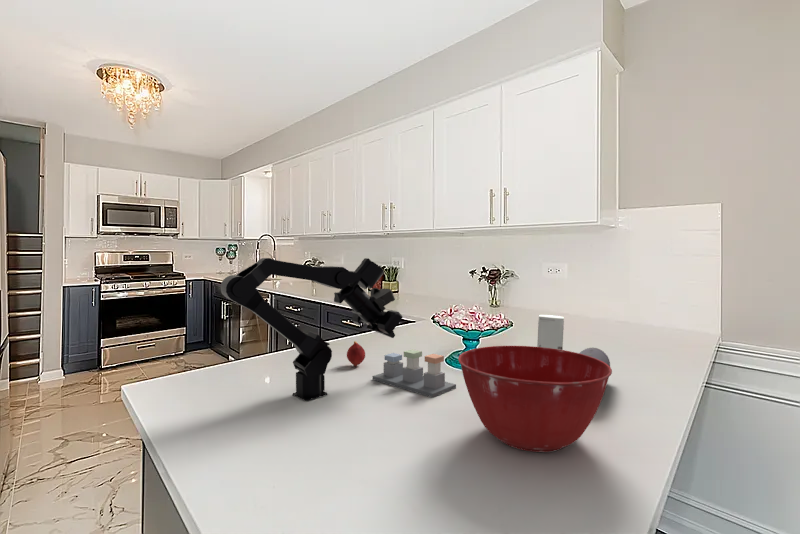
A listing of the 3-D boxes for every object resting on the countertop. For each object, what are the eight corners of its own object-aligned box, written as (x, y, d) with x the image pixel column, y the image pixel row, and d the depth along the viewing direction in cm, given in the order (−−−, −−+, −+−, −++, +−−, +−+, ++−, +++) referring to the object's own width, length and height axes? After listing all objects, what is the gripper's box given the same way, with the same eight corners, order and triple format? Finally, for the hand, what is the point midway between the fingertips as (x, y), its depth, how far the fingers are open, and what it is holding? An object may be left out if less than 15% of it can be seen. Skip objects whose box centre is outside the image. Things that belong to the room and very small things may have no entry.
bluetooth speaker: (575, 377, 122) (576, 343, 122) (611, 383, 118) (612, 347, 117) (561, 402, 103) (561, 361, 102) (603, 409, 98) (604, 367, 98)
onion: (366, 363, 137) (366, 339, 137) (363, 368, 132) (363, 343, 131) (349, 363, 138) (348, 339, 138) (345, 368, 132) (344, 343, 132)
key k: (435, 376, 109) (435, 358, 109) (424, 374, 112) (424, 356, 111) (443, 373, 112) (443, 355, 112) (433, 371, 114) (433, 353, 114)
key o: (393, 374, 119) (393, 357, 119) (384, 371, 122) (384, 355, 122) (402, 371, 122) (402, 354, 122) (393, 368, 125) (393, 352, 124)
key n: (413, 371, 114) (413, 353, 114) (403, 368, 117) (403, 351, 117) (422, 368, 117) (422, 351, 117) (412, 366, 119) (412, 349, 119)
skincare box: (536, 360, 141) (537, 316, 141) (537, 356, 147) (537, 313, 146) (563, 362, 138) (564, 317, 138) (563, 358, 144) (563, 315, 144)
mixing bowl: (497, 400, 104) (497, 338, 103) (626, 432, 86) (627, 357, 85) (430, 441, 82) (430, 362, 81) (585, 494, 64) (586, 394, 63)
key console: (432, 397, 106) (432, 379, 106) (372, 379, 121) (372, 363, 121) (456, 388, 113) (456, 371, 113) (396, 372, 128) (396, 357, 128)
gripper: (396, 281, 110) (429, 319, 117) (360, 277, 125) (391, 311, 132) (370, 314, 106) (406, 351, 113) (337, 306, 121) (370, 339, 128)
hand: (393, 336), depth 122 cm, fingers closed
